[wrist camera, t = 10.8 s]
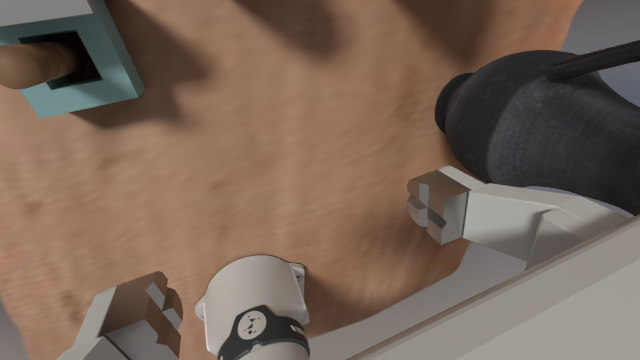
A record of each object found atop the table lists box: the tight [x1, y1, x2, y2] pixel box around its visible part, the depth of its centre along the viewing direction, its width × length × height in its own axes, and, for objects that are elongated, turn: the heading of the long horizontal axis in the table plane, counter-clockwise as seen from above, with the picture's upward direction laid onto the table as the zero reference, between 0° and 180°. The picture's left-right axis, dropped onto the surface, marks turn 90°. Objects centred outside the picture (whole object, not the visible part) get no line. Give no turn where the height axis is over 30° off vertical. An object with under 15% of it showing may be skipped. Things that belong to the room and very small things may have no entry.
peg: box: [0, 40, 89, 89], centre depth 22 cm, size 3×3×10 cm
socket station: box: [0, 0, 146, 118], centre depth 22 cm, size 9×10×9 cm
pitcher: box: [435, 40, 640, 216], centre depth 32 cm, size 17×21×30 cm
